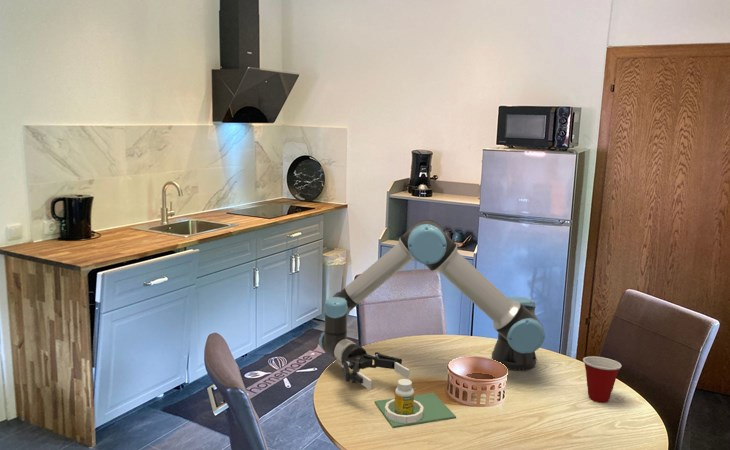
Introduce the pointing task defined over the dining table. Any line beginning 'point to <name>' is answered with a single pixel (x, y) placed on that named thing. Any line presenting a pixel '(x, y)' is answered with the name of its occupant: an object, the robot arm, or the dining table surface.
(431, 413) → the putting mat
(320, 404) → the dining table surface
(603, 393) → the plastic cup
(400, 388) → the supplement bottle
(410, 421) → the segmented ring wall
